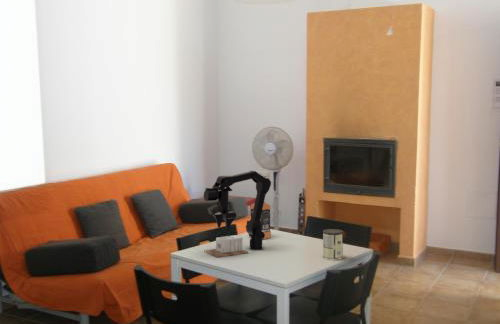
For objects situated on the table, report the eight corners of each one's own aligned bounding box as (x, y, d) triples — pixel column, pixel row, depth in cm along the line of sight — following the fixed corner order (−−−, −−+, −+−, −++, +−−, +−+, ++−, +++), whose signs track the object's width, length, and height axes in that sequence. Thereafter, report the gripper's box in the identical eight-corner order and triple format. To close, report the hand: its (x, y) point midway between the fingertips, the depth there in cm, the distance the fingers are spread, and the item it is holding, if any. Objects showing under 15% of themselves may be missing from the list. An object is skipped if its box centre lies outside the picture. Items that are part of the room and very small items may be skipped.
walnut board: (234, 247, 302) (234, 246, 301) (248, 253, 289) (248, 252, 289) (204, 251, 292) (204, 250, 292) (216, 257, 279) (216, 256, 279)
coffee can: (327, 254, 288) (327, 228, 287) (345, 256, 283) (346, 230, 282) (319, 258, 279) (319, 231, 278) (338, 261, 274) (338, 233, 273)
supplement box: (215, 237, 290) (235, 234, 297) (215, 250, 291) (235, 248, 298) (222, 239, 284) (243, 237, 291) (222, 253, 285) (242, 250, 292)
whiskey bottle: (261, 235, 334) (261, 183, 332) (272, 237, 326) (272, 185, 324) (248, 237, 327) (248, 184, 325) (259, 240, 320) (259, 186, 317)
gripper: (201, 198, 291) (201, 227, 292) (217, 203, 275) (217, 233, 276) (220, 197, 297) (220, 225, 298) (236, 201, 281) (236, 231, 282)
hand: (223, 228), depth 288 cm, fingers open, 9 cm apart
